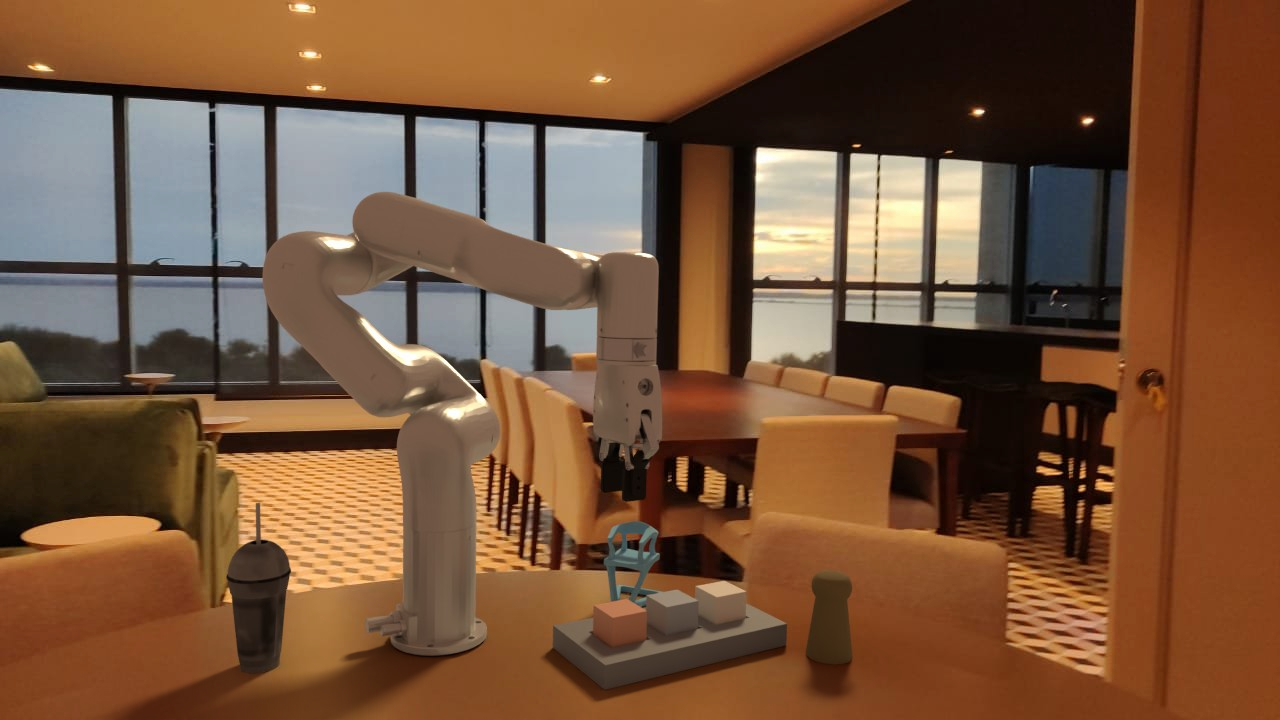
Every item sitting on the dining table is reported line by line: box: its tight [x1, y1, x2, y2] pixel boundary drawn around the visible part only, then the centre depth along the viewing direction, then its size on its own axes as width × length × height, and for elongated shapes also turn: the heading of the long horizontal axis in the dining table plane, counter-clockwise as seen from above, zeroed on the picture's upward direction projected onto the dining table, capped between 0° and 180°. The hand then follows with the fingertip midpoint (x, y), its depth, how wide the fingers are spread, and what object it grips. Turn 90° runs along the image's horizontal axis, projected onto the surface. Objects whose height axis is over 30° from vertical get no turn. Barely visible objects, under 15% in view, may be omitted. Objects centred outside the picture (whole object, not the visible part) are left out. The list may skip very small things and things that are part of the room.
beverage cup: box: [226, 502, 292, 674], centre depth 107 cm, size 7×7×20 cm
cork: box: [805, 569, 853, 665], centre depth 115 cm, size 6×6×11 cm
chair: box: [603, 520, 662, 608], centre depth 132 cm, size 8×8×12 cm
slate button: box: [645, 589, 699, 636], centre depth 116 cm, size 5×5×4 cm
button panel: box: [552, 597, 788, 691], centre depth 116 cm, size 28×14×3 cm, turn 122°
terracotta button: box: [592, 598, 647, 648], centre depth 112 cm, size 5×5×4 cm
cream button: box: [694, 580, 748, 625], centre depth 120 cm, size 5×5×4 cm
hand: (622, 494), depth 111 cm, fingers open, 4 cm apart
